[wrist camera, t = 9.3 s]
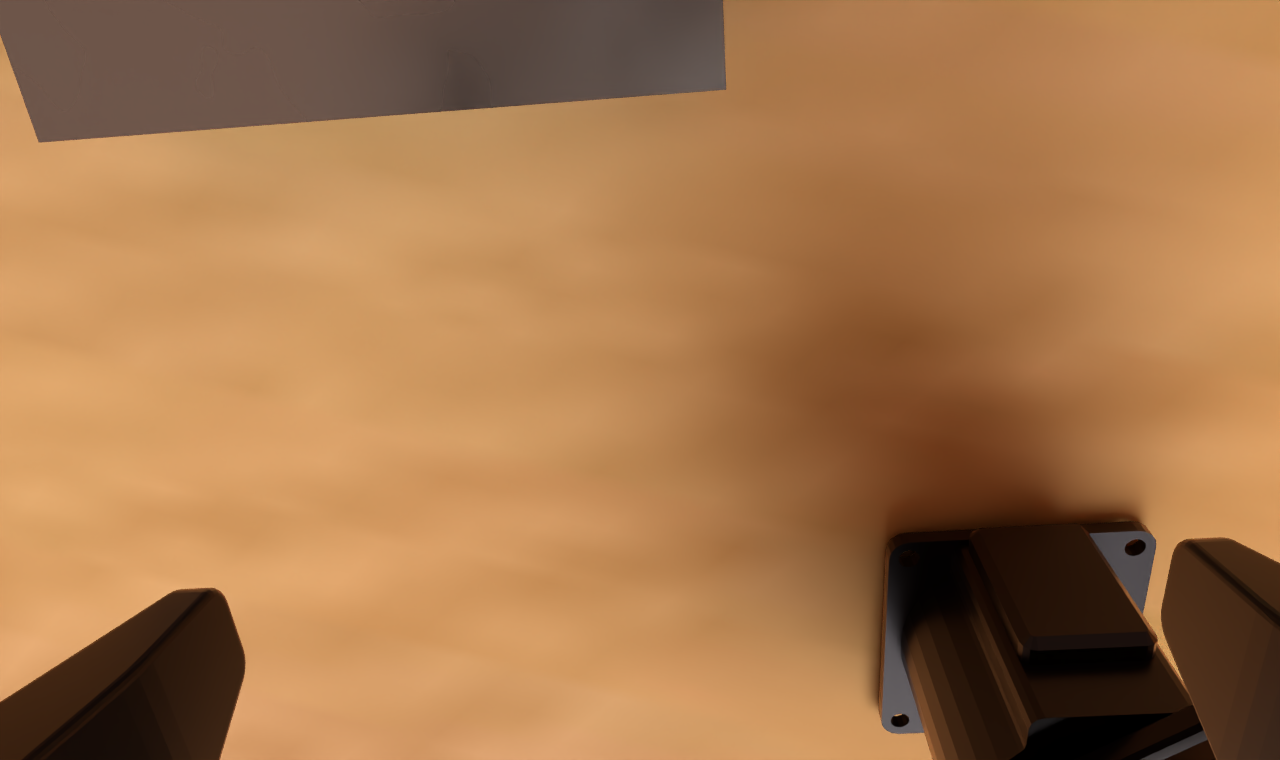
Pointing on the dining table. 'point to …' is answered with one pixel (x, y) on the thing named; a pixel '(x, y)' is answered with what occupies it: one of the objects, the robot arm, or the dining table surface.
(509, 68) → the grey square hole block
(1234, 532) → the dining table surface
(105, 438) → the dining table surface
